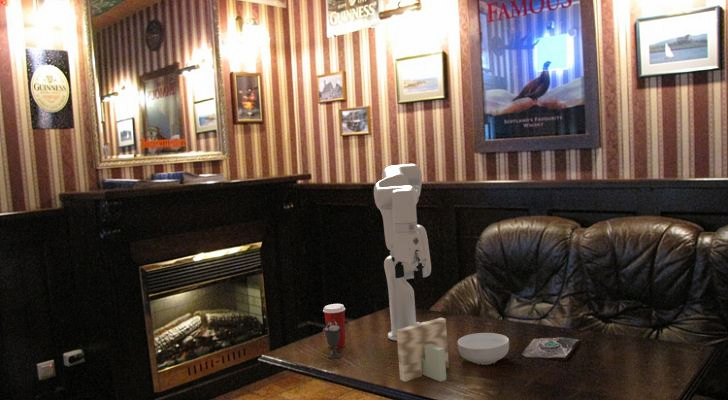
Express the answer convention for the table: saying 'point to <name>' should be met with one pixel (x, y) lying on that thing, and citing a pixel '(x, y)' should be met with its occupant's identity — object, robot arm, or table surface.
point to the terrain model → (551, 348)
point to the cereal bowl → (483, 347)
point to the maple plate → (419, 346)
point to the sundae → (333, 337)
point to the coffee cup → (336, 319)
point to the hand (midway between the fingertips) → (409, 279)
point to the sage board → (434, 362)
